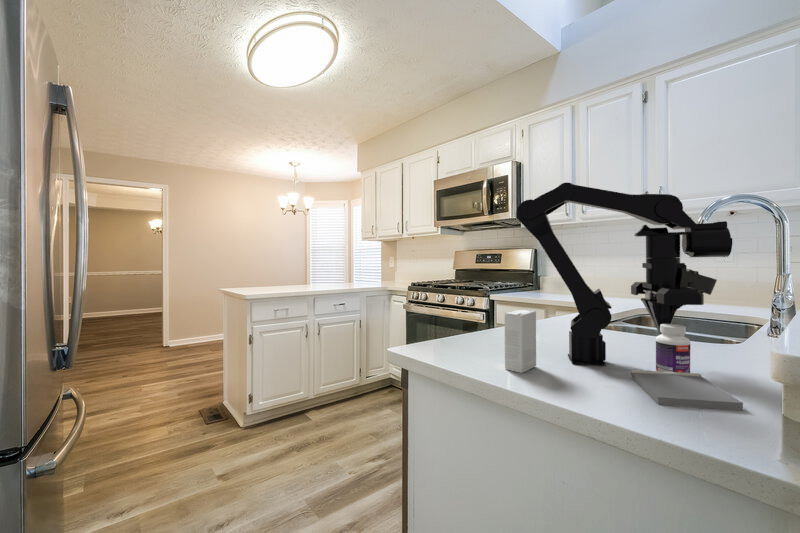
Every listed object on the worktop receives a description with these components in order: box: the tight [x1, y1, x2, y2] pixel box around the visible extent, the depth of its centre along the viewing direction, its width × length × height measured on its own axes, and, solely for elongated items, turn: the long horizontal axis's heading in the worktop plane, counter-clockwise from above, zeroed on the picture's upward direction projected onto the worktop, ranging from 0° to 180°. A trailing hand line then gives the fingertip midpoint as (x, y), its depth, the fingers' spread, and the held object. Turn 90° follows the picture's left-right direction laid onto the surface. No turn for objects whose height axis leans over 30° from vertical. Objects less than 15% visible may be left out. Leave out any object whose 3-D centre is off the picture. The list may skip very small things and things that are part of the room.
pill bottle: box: [655, 323, 691, 373], centre depth 71 cm, size 5×5×10 cm
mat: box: [630, 369, 744, 412], centre depth 63 cm, size 11×13×2 cm
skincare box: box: [504, 309, 537, 374], centre depth 78 cm, size 6×4×12 cm
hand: (663, 334), depth 76 cm, fingers closed
